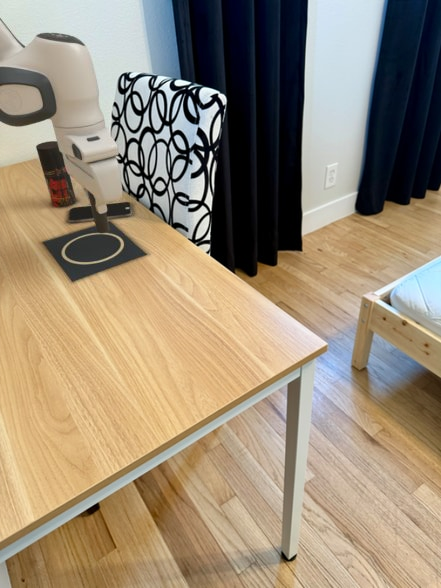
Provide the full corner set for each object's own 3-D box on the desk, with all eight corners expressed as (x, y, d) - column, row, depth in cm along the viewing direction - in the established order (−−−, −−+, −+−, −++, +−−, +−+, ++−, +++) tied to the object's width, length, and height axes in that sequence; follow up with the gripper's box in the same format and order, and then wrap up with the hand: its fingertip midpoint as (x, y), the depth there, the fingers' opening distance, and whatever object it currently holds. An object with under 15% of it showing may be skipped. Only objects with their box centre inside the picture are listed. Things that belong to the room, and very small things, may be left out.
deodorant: (47, 204, 111) (30, 146, 102) (66, 196, 115) (51, 139, 106) (62, 210, 108) (46, 150, 99) (81, 201, 112) (67, 143, 103)
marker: (99, 235, 87) (85, 173, 79) (94, 230, 89) (80, 169, 81) (112, 231, 88) (99, 169, 80) (106, 226, 90) (93, 165, 82)
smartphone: (131, 214, 103) (67, 221, 101) (132, 217, 104) (68, 224, 101) (130, 201, 109) (70, 207, 107) (131, 203, 110) (70, 210, 107)
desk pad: (72, 282, 82) (72, 280, 82) (42, 243, 95) (42, 241, 94) (147, 255, 89) (147, 253, 89) (110, 222, 102) (109, 220, 102)
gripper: (47, 128, 83) (65, 195, 91) (86, 156, 69) (103, 232, 77) (78, 122, 85) (93, 188, 94) (122, 147, 72) (135, 222, 80)
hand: (98, 208), depth 85 cm, fingers closed on marker, 2 cm apart
